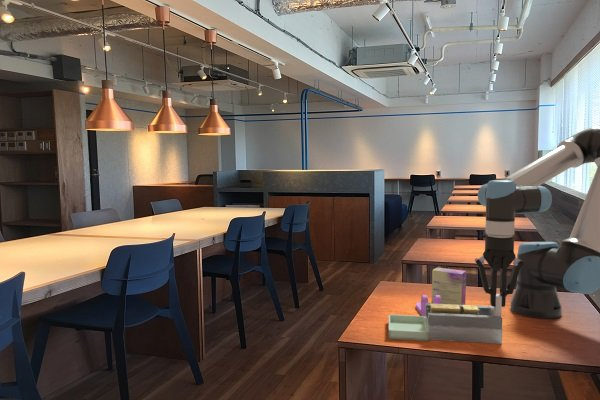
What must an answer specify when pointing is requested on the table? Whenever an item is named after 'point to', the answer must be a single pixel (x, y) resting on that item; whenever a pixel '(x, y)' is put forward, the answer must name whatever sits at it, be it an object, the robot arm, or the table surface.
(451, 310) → the tan cube
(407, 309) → the table surface
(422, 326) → the tray
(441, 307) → the khaki cube
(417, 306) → the bracket
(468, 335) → the channel
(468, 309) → the beige cube
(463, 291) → the box
